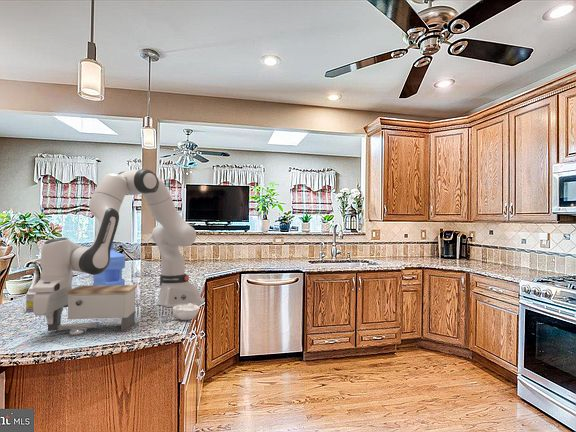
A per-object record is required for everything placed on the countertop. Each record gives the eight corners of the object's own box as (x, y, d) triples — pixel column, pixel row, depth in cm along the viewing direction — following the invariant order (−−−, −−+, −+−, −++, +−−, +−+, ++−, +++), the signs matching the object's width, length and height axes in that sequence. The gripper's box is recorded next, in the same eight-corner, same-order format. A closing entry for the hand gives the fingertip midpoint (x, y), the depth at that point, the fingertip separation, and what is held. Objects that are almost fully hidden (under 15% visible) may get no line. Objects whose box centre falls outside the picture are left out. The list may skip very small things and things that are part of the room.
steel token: (88, 331, 126) (88, 327, 126) (82, 336, 121) (82, 331, 121) (73, 332, 125) (73, 327, 125) (67, 336, 120) (67, 332, 120)
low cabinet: (136, 323, 137) (137, 284, 137) (127, 332, 125) (128, 291, 125) (78, 324, 133) (79, 285, 134) (63, 335, 121) (64, 292, 122)
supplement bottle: (39, 308, 158) (40, 285, 158) (43, 310, 154) (43, 287, 154) (24, 310, 154) (25, 287, 154) (27, 312, 150) (28, 289, 150)
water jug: (86, 295, 185) (87, 243, 186) (106, 290, 201) (107, 241, 201) (112, 297, 183) (113, 244, 183) (130, 291, 198) (131, 242, 199)
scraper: (98, 325, 129) (98, 306, 129) (96, 327, 126) (96, 308, 126) (51, 328, 125) (51, 308, 125) (47, 330, 122) (47, 311, 122)
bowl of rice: (184, 314, 151) (185, 298, 151) (205, 318, 145) (205, 302, 145) (165, 319, 142) (166, 303, 142) (186, 324, 136) (187, 307, 136)
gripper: (59, 278, 134) (58, 314, 134) (29, 288, 114) (28, 330, 114) (77, 278, 135) (76, 314, 135) (50, 288, 115) (49, 330, 115)
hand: (54, 321), depth 124 cm, fingers closed on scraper, 3 cm apart
